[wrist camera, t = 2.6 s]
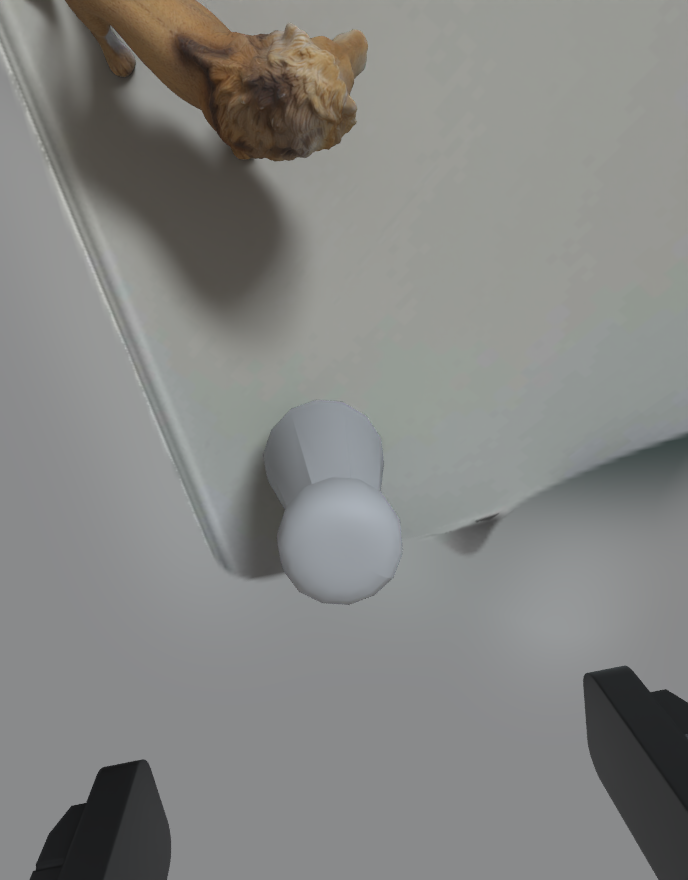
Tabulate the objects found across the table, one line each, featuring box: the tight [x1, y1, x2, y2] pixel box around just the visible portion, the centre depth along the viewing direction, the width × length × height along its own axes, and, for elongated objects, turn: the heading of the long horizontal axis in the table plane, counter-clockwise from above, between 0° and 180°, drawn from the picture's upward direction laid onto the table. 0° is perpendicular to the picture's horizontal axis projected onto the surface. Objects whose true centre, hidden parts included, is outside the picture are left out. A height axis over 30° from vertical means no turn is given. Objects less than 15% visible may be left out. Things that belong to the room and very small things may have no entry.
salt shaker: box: [263, 400, 402, 605], centre depth 27 cm, size 6×6×13 cm
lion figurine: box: [65, 0, 368, 161], centre depth 24 cm, size 15×5×9 cm, turn 63°
